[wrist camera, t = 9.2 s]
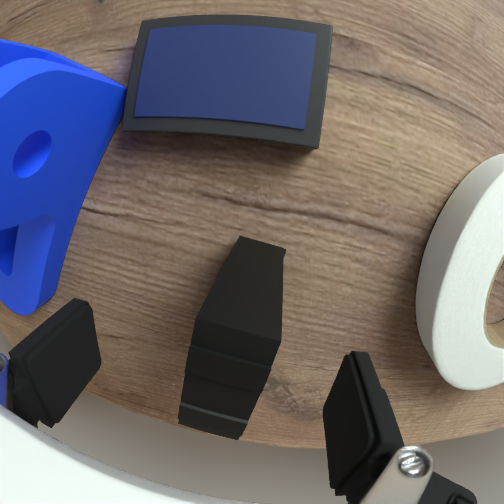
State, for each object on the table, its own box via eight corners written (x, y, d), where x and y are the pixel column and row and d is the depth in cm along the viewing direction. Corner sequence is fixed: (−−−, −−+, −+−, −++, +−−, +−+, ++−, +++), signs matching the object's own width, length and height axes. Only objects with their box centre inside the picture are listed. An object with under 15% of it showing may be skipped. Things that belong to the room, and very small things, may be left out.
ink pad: (134, 132, 13) (119, 131, 12) (152, 29, 11) (140, 19, 10) (314, 149, 12) (318, 149, 11) (328, 36, 10) (333, 24, 9)
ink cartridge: (259, 327, 16) (238, 448, 8) (219, 316, 16) (175, 430, 8) (286, 246, 14) (286, 348, 7) (241, 233, 14) (193, 322, 7)
